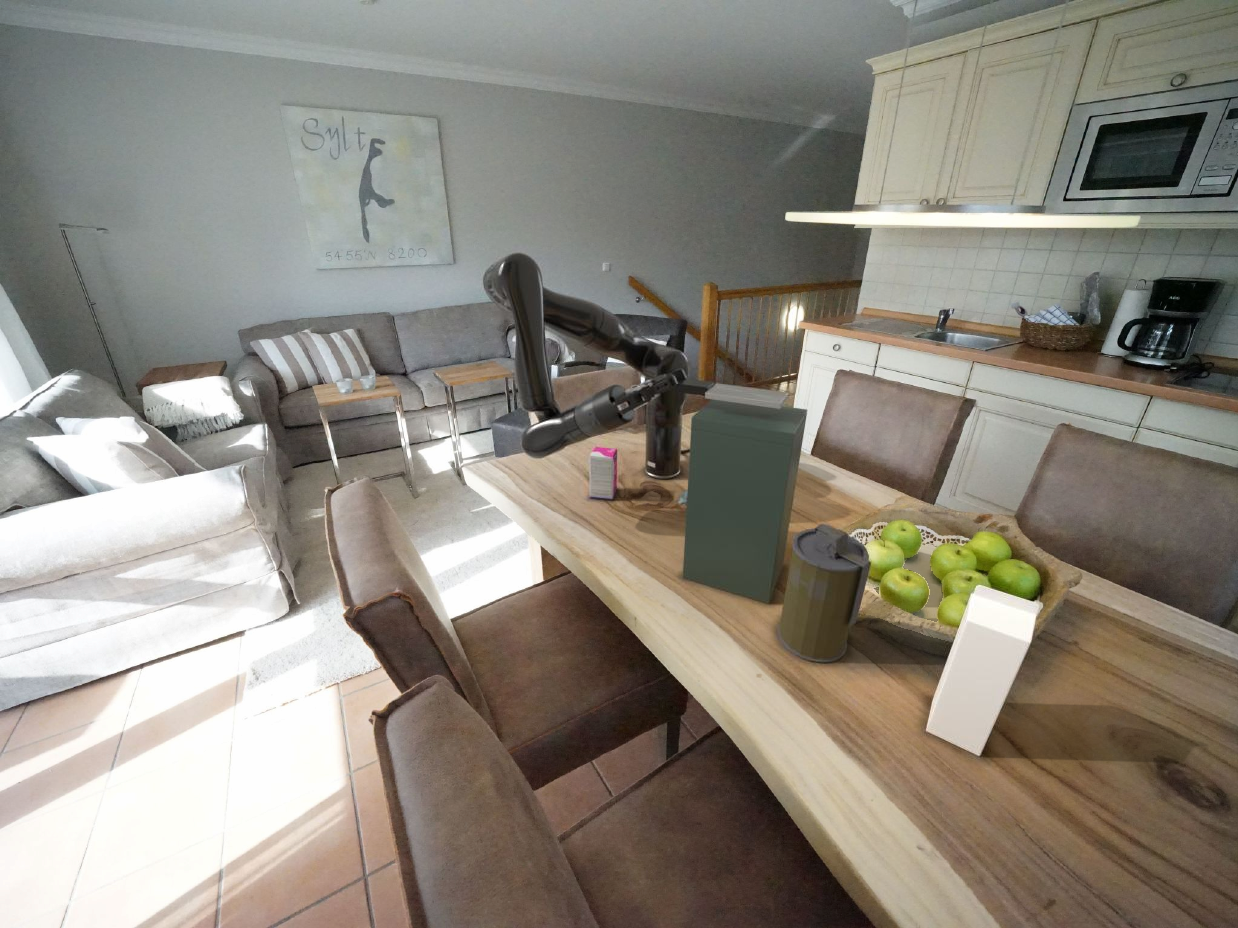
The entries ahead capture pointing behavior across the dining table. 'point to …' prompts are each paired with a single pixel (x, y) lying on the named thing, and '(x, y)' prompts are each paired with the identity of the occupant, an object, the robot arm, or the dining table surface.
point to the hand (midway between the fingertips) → (679, 376)
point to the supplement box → (603, 473)
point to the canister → (823, 593)
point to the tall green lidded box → (741, 495)
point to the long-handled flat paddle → (730, 392)
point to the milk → (981, 667)
